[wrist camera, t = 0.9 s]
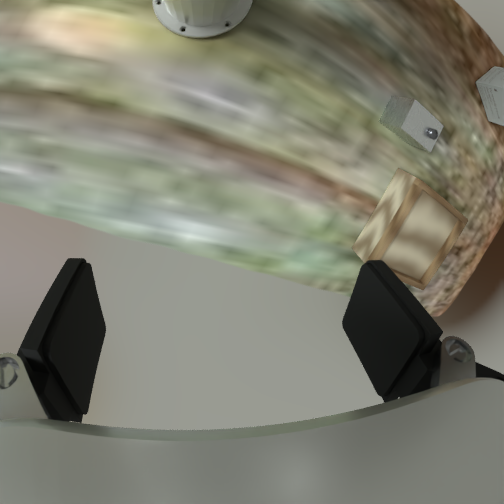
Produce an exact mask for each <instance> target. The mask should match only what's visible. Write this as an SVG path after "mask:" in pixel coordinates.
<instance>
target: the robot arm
mask: <svg viewBox="0 0 504 504" xmlns="http://www.w3.org/2000/svg"><path fill="white" fill-rule="evenodd" d="M159 2H161V4H159V5H158V3H159ZM251 4H252V0H153V8H154V12H155V14H156V16H157V18H158V20H159V21H160V22H161V24H162V25H164V26H165V27H166V28H167V29H168V30H170V31H172V32H173V33H175V34H178V35H181V36H184V37H190V38H208V37H213V36H217V35H220V34H223V33H225V32H227V31H229V30H231V29H232V28H234V27H235V26H237V25H238V24H239V23H240V22H241V21H242V20H243V19H244V17H245V16H246V15H247V13H248V11H249V10H250V7H251ZM225 24H229V26H228V27H226V26H225ZM182 29H185V31H184V32H182V31H181V30H182ZM342 324H343V329H344V331H345V332H346V334H347V336H348V338H349V340H350V342H351V344H352V345H353V347H354V349H355V351H356V353H357V355H358V357H359V359H360V361H361V363H362V365H363V367H364V369H365V371H366V373H367V374H368V376H369V378H370V380H371V382H372V384H373V386H374V388H375V390H376V392H377V394H378V395H379V396H382V398H383V400H384V402H385V403H382V404H378V405H375V406H371V407H367V408H363V409H359V410H354V411H350V412H346V413H341V414H336V415H331V416H326V417H321V418H315V419H310V420H304V421H297V422H291V423H283V424H275V425H267V426H257V427H247V428H233V429H217V430H216V429H215V430H151V429H134V428H120V427H108V426H98V425H90V424H82V423H81V422H82V417H83V414H87V412H88V408H89V403H90V398H91V393H92V388H93V383H94V379H95V374H96V370H97V365H98V361H99V357H100V353H101V349H102V345H103V341H104V337H105V333H106V326H105V322H104V318H103V314H102V310H101V306H100V302H99V298H98V294H97V290H96V285H95V281H94V276H93V272H92V267H91V264H90V263H86V260H85V259H83V258H69V259H67V261H66V262H65V264H64V266H63V267H62V269H61V270H60V272H59V274H58V275H57V278H56V279H55V281H54V282H53V284H52V286H51V288H50V289H49V291H48V293H47V295H46V296H45V299H44V300H43V302H42V304H41V306H40V308H39V309H38V311H37V313H36V315H35V317H34V319H33V321H32V323H31V325H30V327H29V329H28V331H27V333H26V335H25V338H24V340H23V342H22V344H21V346H20V348H19V351H18V353H17V355H16V354H12V353H3V354H0V504H504V375H503V374H501V373H499V372H497V371H495V370H493V369H490V368H488V367H486V366H483V365H481V364H479V363H476V362H475V355H474V351H473V349H472V348H471V346H470V345H469V344H468V343H467V342H466V341H464V340H463V339H461V338H459V337H455V336H448V337H446V338H444V339H443V341H442V342H441V341H440V340H439V338H440V336H441V335H442V333H443V331H442V330H441V328H440V327H439V326H438V325H437V323H436V322H435V321H434V320H433V318H432V317H431V316H430V315H429V313H428V312H427V311H426V310H425V309H424V307H423V306H422V305H421V304H420V302H419V301H418V300H417V299H416V298H415V296H414V295H413V294H412V293H411V292H410V291H409V289H408V288H407V287H406V286H405V285H404V284H403V282H402V281H401V280H400V279H399V278H398V277H397V276H396V274H395V273H394V272H393V271H392V270H391V269H390V268H389V267H388V265H387V264H386V263H385V262H384V261H383V260H368V261H366V263H365V264H363V265H362V267H361V269H360V272H359V275H358V278H357V281H356V284H355V287H354V290H353V293H352V296H351V299H350V301H349V304H348V307H347V309H346V312H345V315H344V318H343V321H342ZM398 397H400V398H399V399H398ZM69 421H74V422H69ZM76 422H80V423H76Z"/></svg>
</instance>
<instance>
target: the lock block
mask: <svg viewBox="0 0 504 504" xmlns="http://www.w3.org/2000/svg"><path fill="white" fill-rule="evenodd" d="M379 122H380V123H381V124H383V125H384V126H385V127H387V128H388V129H389V130H391V131H392V132H393V133H395V134H396V135H397V136H399V137H400V138H401V139H403V140H404V141H405V142H406V143H408V144H410V145H412V146H415V147H418V148H420V149H423V150H425V151H427V152H430V153H431V151H432V149H433V147H434V145H435V143H436V141H437V139H438V137H439V135H440V133H441V130H442V128H443V125H442V124H441V123H440V122H439V121H438V120H437V119H436V118H435V117H434V116H433V115H432V114H431V113H430V112H429V111H428V110H427V109H425V108H424V107H423V106H422V105H421V104H420V103H419V102H418V101H417V100H415V99H411V98H405V97H398V96H391V98H390V100H389V102H388V104H387V106H386V108H385V110H384V112H383V114H382V116H381V118H380V120H379Z"/></svg>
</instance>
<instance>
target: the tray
mask: <svg viewBox="0 0 504 504" xmlns="http://www.w3.org/2000/svg"><path fill="white" fill-rule="evenodd" d="M467 222H468V219H466V218H465V217H464V216H463V215H462V214H461V213H460V212H459V211H458V210H457V209H455V208H454V207H453V206H452V205H451V204H450V203H449V202H447V201H446V200H445V199H444V198H443V197H441V196H440V195H439V194H438V193H437V192H435V191H434V190H433V189H432V188H431V187H429V186H428V185H427V184H426V183H424V182H423V181H422V180H420V179H418V178H416V177H414V176H413V175H411V174H409V173H407V172H405V171H403V170H401V169H399V168H398V169H397V171H396V173H395V175H394V177H393V178H392V180H391V182H390V184H389V186H388V187H387V189H386V191H385V193H384V194H383V196H382V198H381V200H380V201H379V203H378V205H377V207H376V208H375V210H374V212H373V213H372V215H371V217H370V219H369V220H368V222H367V224H366V225H365V227H364V229H363V230H362V232H361V234H360V235H359V237H358V238H357V240H356V242H355V243H354V245H353V246H352V249H353V250H354V251H355V252H356V254H357V255H358V256H359V257H360V258H361V260H362V261H363V262H364V263H366V261H368V260H383V261H384V262H385V263H386V264H387V265H388V267H389V268H390V269H391V270H392V271H393V272H394V273H395V274H396V276H397V277H398V278H399V279H400V280H401V281H402V282H404V283H407V284H409V285H412V286H414V287H416V288H419V289H421V290H424V289H425V287H426V286H427V284H428V283H429V282H430V280H431V279H432V277H433V276H434V274H435V273H436V271H437V270H438V268H439V267H440V265H441V264H442V262H443V261H444V259H445V258H446V256H447V255H448V253H449V252H450V250H451V249H452V247H453V245H454V244H455V242H456V240H457V239H458V237H459V235H460V234H461V232H462V230H463V229H464V227H465V225H466V224H467Z"/></svg>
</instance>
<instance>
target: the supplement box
mask: <svg viewBox="0 0 504 504" xmlns="http://www.w3.org/2000/svg"><path fill="white" fill-rule="evenodd" d="M476 85H477V88H478V91H479V93H480V96H481V99H482V102H483V105H484V108H485V111H486V115H487V118H488V121H490V122H493V123H496V124H499V125H502V126H504V68H502V67H496V66H494V67H493V68H491V69H490V70H489V71H488V72H487V73H486V74H484V75H483V76H482V77H481V78H480V79H478V80H477V81H476Z"/></svg>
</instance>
